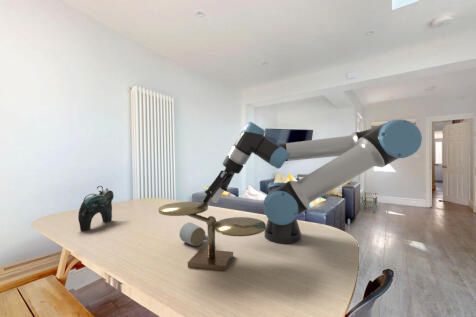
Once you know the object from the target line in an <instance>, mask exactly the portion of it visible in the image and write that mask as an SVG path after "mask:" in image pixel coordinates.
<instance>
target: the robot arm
mask: <svg viewBox="0 0 476 317" xmlns="http://www.w3.org/2000/svg"><path fill="white" fill-rule="evenodd" d="M265 132H266V130H265V129H264V128H262V127H261V126H259V125H257V124H256V123H254V122H253V121H249V122H247V124H246V125H245V126H244V127H243V129H242V130H241V132H240V134H239V136H238V137H237V139H236V141H235V142H234V144H233V146H231V147H230V151H229V152H228V155H227V156H226V157H225V158H224V160H223V162H222V166H223V167H225V169H224V170H220V172H219V173H218V175H217V177H216V178H215V179H214V181H213V182H212V183H211V184H210V186H209V187H208V188H207V190H204V193H205V195H204V197H203V198H202V200H201V202H202V203H206V204H207V205H208V206H209V204H210V203H211V202H213V203H214V204H217V203H218V202H219V200H220V199H221V197H222V195H223V193H224V192H227V191H228V187H229V185H230V184H231V181H232V180H233V178H234V176H235V174H238V175H239V174H240V173H241V171H242V170H243V168H244V165H246V164H247V162H248V160H249V159H250V157H251V155H253V154H254V155H256V156H257V157H259V158H260V159H262V160H263V161H264V162H266V163H267V164H269V165H270V166H272V167H274V168H275V169H278V170H279V169H281V168H282V167H283V165H284V164H285V162H290V161H291V162H292V161H302V160H303V161H304V160H310V159H311V160H312V159H322V158H331V157H332V158H333V157H335V158H334V159H331V160H330V161H328V162H326V163H325V164H323V165H322V166H320V167H319V168H317V169H315V170H313V171H312V172H309V173H308V174H307V175H305V176H304V177H302V178H300V179H299V180H296V181H294V180H288V181H286V182H269V183H268V184H267V193H268V194H267V195H266V196H265V197H264V200H263V212H264V214H265V216H266V218H267V221H266V228H265V230H264V238H265V239H266V240H268V241H270V242H273V243H277V244H293V243H297V242H300V241H301V240H302V232H301V228H300V226H299V224H298V219H297V217H298V215H300V214H302V213H304V212H305V211H308V210H309V207H310V204H311V203H312V202H314V201H316V200H317V199H319V198H321V197H323V196H324V195H326V194H328V193H330V192H331V191H333V190H334V189H337V188H338V187H340V186H342V185H344V184H346V183H347V182H349V181H351V180H353V179H354V178H356V177H358V176H360V175H362V173H363V174H364V173H365V172H366V171H367V172H368V170H370V169H372V168H374V167H377V168H378V167H379V168H384V167H385V166H387V165H389V164H391V163H393V162H395V161H396V160H398V159H404V158H405V159H406V158H408V157H410V156H413V155H414V154H415V153H416V152H418V151H419V150H420V147H421V145H422V140H423V139H422V137H423V136H422V132H421V130H420V129H419V127H418V126H417V125H416V124H415V123H413V122H412V121H409V120H406V119H393V120H388V121H387V122H384V123H381V124H379V125H376V126H373V127H372V128H368V129H365V130H361V131H356V132H354V131H353V132H352V133H351V134H350V135H343V136H336V137H335V136H334V137H328V138H327V137H326V138H321V139H311V140H303V141H294V142H287V143H276V142H274V141H272V140H270V139H269V138H268V137H266V136H265Z"/></svg>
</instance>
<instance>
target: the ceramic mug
mask: <svg viewBox="0 0 476 317" xmlns="http://www.w3.org/2000/svg"><path fill="white" fill-rule="evenodd" d="M179 238H180V240H181V241H182V242H184V243H186V244H189V245H190V246H193V247H198V246H200V245H201V244H202V243H204V241H205V242H208V235H206V231H205V229H204V228H202V227H201V226H199V225H197V224H195V223H193V222H186V223H184V224H183V225H182V227H181V228H180V230H179Z"/></svg>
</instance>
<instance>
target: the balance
mask: <svg viewBox="0 0 476 317" xmlns="http://www.w3.org/2000/svg"><path fill="white" fill-rule="evenodd" d="M208 209H209V205H207V204H206V203H202V201H200V202H199V201H179V202H171V203H166V204H164V205H161V206H159V207H158V213H159V214H160V215H164V216H169V217H171V216H172V217H179V216H180V217H183V216H184V217H186V216H187V217H191V218H194V219H195V220H198V221H201V222H204V223H206V225H207V236H208V240H207V248H206V249H204V248H200V249H199V250H198V251H197V252H196V253H194V255H193V256H192V257H191V258H190V259H189V260H188V261H187V268H191V269H200V270H208V271H209V270H210V271H218V272H226V271H227V269H228V267H229V265H230V264H231V262H232V260H233V258H234V251H231V250H229V251H227V250H218V249H217V250H216V233H218V234H220V235H225V236H228V237H230V236H231V237H250V236H255V235H260V234H261V233H263V232H265V228H266V225H267V223H266V222H264V221H263V220H261V219H258V218H253V217H247V216H244V217H243V216H241V217H240V216H236V217H227V218H224V219H219V220H218V221H217V219H216V216H213V215H210V216H208V217H206V216H203V215H201V213H204V212H207V211H208Z"/></svg>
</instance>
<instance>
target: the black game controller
mask: <svg viewBox="0 0 476 317" xmlns="http://www.w3.org/2000/svg"><path fill="white" fill-rule="evenodd" d="M98 188H101V190H98ZM96 190H98V192H99V193H98V194H97V193H90V194H88V195H86V196H85V197H83V198H84V199H83V201H82V203H81V205H80V207H79V210H78V213H77V214H78V218H77V219H78V223H79V230H80V232H86V231H89V230H91V225H92V220H93V219H94V216H95V215H97V214H100V216H101V220H102V223H109V222H112V221H111V220H113V205H112V202H113V200H114V198H115V196H114V192H113V190H109V189H108V188H107V187H106V189H105V190H104V186H102V185H98V186H96Z"/></svg>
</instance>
